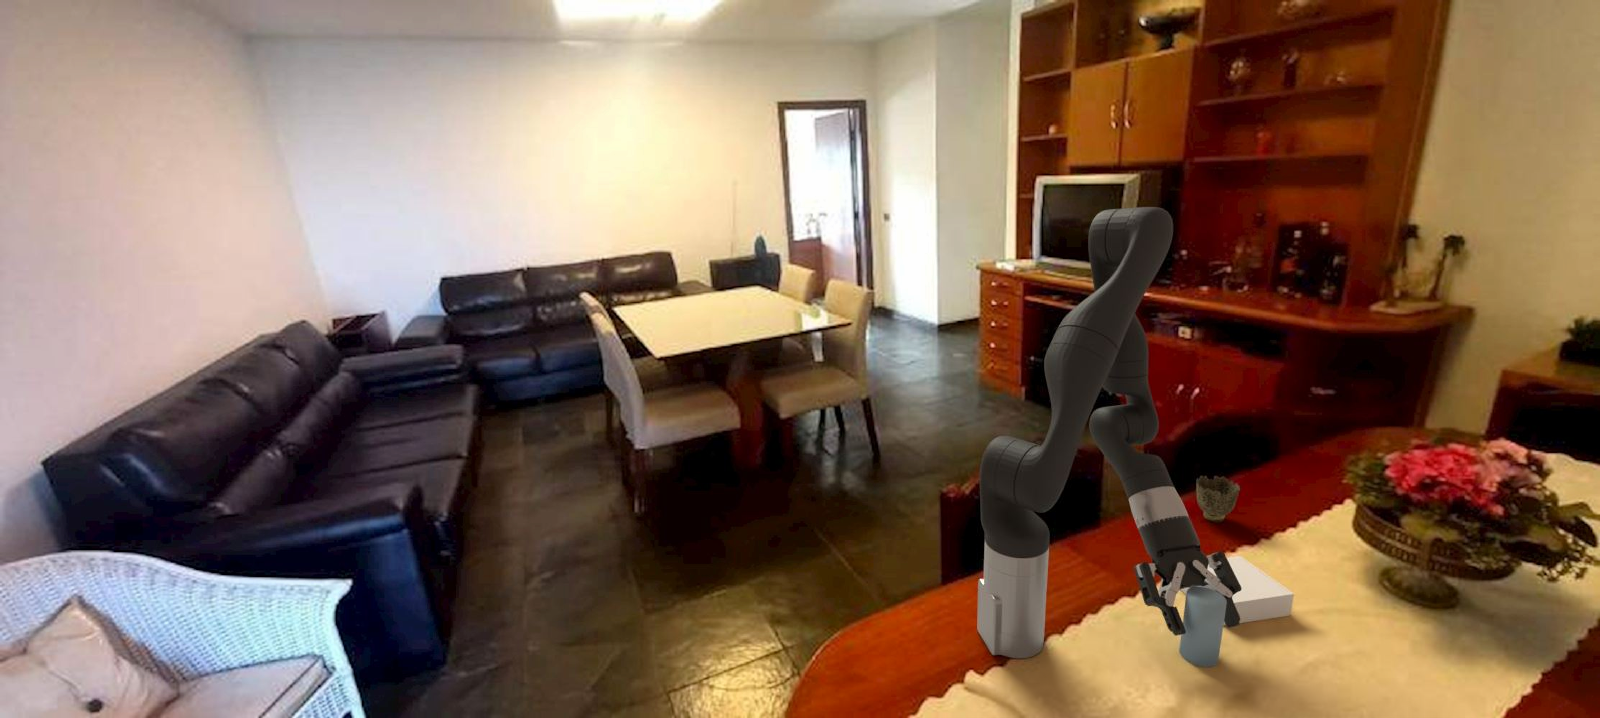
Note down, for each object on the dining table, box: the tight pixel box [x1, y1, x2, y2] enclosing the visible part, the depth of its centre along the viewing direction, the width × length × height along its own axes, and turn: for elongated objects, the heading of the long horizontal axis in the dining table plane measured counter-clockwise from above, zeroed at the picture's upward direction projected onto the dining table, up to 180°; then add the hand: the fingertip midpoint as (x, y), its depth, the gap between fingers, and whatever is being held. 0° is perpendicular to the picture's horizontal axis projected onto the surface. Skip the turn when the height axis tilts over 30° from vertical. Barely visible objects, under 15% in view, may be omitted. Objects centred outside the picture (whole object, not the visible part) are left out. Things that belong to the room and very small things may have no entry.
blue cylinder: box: [1178, 587, 1227, 668], centre depth 98 cm, size 5×5×10 cm
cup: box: [1195, 475, 1241, 523], centre depth 134 cm, size 8×7×8 cm
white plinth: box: [1179, 555, 1295, 627], centre depth 110 cm, size 12×11×4 cm
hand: (1207, 630), depth 97 cm, fingers open, 8 cm apart
